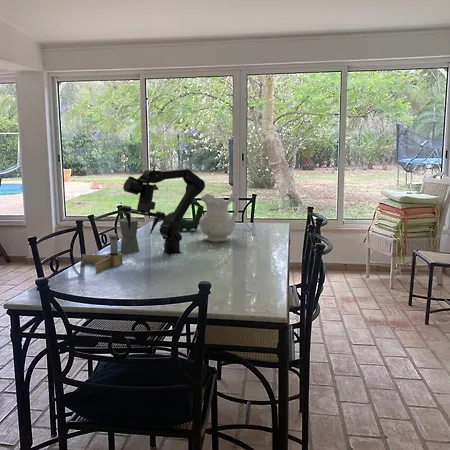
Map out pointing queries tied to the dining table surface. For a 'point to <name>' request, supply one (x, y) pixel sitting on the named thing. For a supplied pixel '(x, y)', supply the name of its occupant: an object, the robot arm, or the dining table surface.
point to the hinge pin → (113, 244)
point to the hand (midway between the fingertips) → (139, 232)
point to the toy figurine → (190, 223)
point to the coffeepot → (129, 235)
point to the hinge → (102, 261)
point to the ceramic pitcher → (218, 217)
